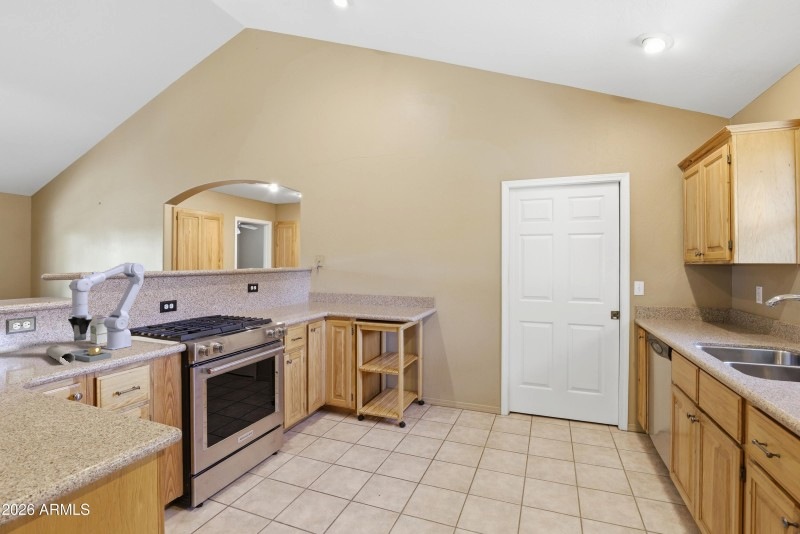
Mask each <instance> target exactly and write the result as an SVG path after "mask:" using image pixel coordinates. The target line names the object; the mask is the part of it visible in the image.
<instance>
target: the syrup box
mask: <svg viewBox="0 0 800 534" xmlns="http://www.w3.org/2000/svg"><path fill="white" fill-rule="evenodd" d="M107 317H108V315H104V314H95V315H92V321H91V322H90V324H89V326H90V327H89V328H90V332H89V333H90V336H89V338H90V343H91V344H93V345H94V344H95V345H99V344H100V343H101V344H107V328H106V327H105V326H104V321H105V319H106V318H107Z"/></svg>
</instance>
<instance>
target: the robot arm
mask: <svg viewBox="0 0 800 534" xmlns="http://www.w3.org/2000/svg"><path fill="white" fill-rule="evenodd" d="M146 271H147V270H146V268H145V266H144V264H142V263H141V262H124V263H120V264H118V265H116V266H114V267H112V268H110V269H107V270H104V271H102V272H100V271H93V272H91V273H90V274H87V275H83V276H80V277H81V278H75V279H73V280H71V281H70V283H69V285H68V288H69V289H70V290H71V312H69V313H68V318H67V321H68V322H69V324H70V325H71V327H72V328H71V329H72V332H73V333H74V325H77V324H78V325H79V331H80V334H81V335H82V334H86V335H87V331H88V329H89V326H90V322H91V321H92V316H93V315H92V314H90V313H89V291H90V289H91V288H93V287H96V286H99V285H100V284H103V283H104V282H105V281H106V279H109V278H112V277H114V276H117V275H120V274H123V275H125V277H126V278H127V279H128V281H129V283H128V286H127V287H126V289H125V290H124V293H123V295H122V297H121V298H120V300H119V303H118V304H117V306H116V308H115V310H113V311H111V312H110V313H109V315H107V318H106V319H105V321H104V326H105V327H106V328H107V342H106V344H107V345H106V346H104V347H102V349H104V350H105V349H106V350H110V351H114V350H119V349H124V348H130V347H132V334H131V333H132V332H131V331H130V329H128V328H127V327H128V325H129V320H130V315H129V311H130V309H131V308H132V306H133V303H134V302H135V299H136V298H137V296H138V294H139V292H140V290H141V288H142V286H143V284H144V276H145V273H146Z"/></svg>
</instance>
